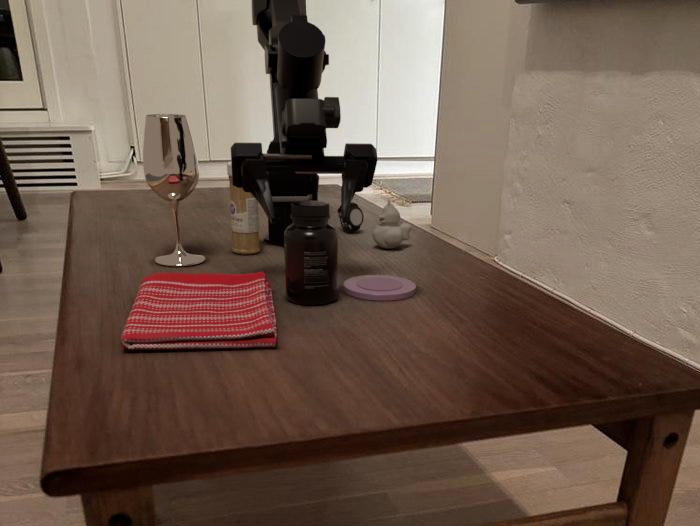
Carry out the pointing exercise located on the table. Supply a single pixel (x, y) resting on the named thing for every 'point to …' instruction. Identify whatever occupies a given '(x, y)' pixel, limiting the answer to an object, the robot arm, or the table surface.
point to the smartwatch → (352, 218)
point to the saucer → (379, 287)
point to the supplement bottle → (311, 255)
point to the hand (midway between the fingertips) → (309, 221)
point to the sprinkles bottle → (243, 219)
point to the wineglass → (171, 172)
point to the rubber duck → (390, 228)
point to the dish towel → (201, 312)
